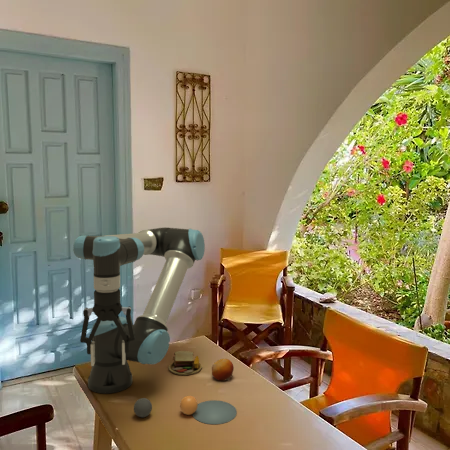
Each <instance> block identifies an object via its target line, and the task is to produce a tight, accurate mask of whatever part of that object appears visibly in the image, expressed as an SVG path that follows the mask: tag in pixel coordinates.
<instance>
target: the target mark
mask: <svg viewBox="0 0 450 450" xmlns="http://www.w3.org/2000/svg"><path fill="white" fill-rule="evenodd" d="M237 412H238V411H237V409H236V407H235V406H234V405H232V404H231V403H230V402H226V401H223V400H217V399H216V400H213V399H211V400H204V401H201V402H199V403H198V407H197V410H196V411H195V412H194V413H193V414H191V416H192V417H193V418H194V420H195V421H198V422H200V423H202V424H207V425H222V424H227V423H228V422H231V421H232V420H234V419H235V418H236V416H237Z"/></svg>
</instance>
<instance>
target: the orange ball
mask: <svg viewBox="0 0 450 450" xmlns="http://www.w3.org/2000/svg"><path fill="white" fill-rule="evenodd" d="M198 404H199V403H198V401H197V399H196V398H195V396H192V395H186V396H184V397H183V398H181V400H180V401H179V408H180V410H181V411H180V412H182V414H184V415H188V416H190V415H191V416H192V414H193V413H194V412H195V411H196V410H197V407H198Z"/></svg>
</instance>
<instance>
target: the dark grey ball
mask: <svg viewBox="0 0 450 450" xmlns="http://www.w3.org/2000/svg"><path fill="white" fill-rule="evenodd" d="M152 410H153V405H152V402H151V401H150V400H149V399H148V398H146V397H143V398H141V397H140V398H138V399H137V400H136V401H135V403H134V405H133V411H134V414H135V416H137V417H138V418H145V417H148V416H149V415H151V412H152Z"/></svg>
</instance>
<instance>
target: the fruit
mask: <svg viewBox="0 0 450 450" xmlns="http://www.w3.org/2000/svg"><path fill="white" fill-rule="evenodd" d="M234 368H235V367H234V364H233V362H232V361H231V360H230V359H228V358H221V359H218V360H217V361H216V362H214V363H213V364H212V367H211V376H213V378H214V379H216V380H218V381H221V382H222V381H230V378H231V377H233V372H234Z"/></svg>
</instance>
